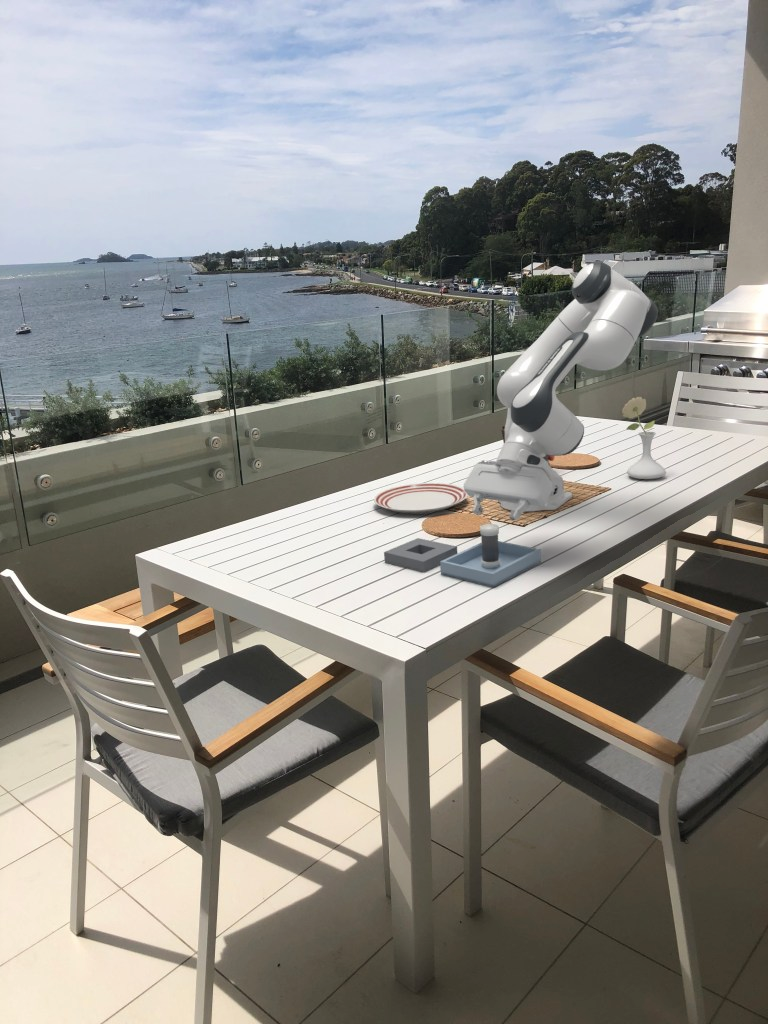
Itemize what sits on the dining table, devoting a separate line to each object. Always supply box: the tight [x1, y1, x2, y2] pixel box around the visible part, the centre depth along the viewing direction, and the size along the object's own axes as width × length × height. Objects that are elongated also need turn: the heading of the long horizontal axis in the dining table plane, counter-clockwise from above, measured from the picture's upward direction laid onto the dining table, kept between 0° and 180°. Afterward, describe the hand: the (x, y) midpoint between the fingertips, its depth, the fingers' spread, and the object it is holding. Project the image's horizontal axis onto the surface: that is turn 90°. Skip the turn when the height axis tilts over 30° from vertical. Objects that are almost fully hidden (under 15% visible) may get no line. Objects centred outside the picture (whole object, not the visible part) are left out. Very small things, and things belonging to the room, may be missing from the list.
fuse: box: [479, 523, 500, 569], centre depth 166 cm, size 4×4×9 cm
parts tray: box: [439, 540, 542, 589], centre depth 167 cm, size 18×14×3 cm
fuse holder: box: [383, 537, 458, 573], centre depth 176 cm, size 12×12×2 cm
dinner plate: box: [373, 482, 469, 515], centre depth 221 cm, size 27×27×3 cm
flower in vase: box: [621, 396, 667, 480], centre depth 229 cm, size 13×11×25 cm
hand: (494, 516), depth 168 cm, fingers open, 8 cm apart
